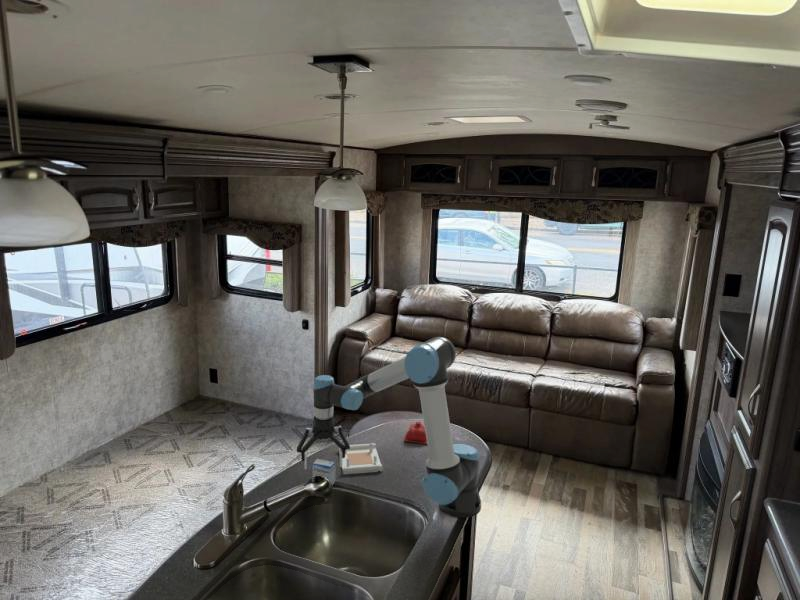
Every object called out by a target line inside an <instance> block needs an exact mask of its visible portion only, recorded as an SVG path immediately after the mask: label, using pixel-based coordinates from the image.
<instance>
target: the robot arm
mask: <svg viewBox="0 0 800 600" xmlns="http://www.w3.org/2000/svg"><path fill="white" fill-rule="evenodd" d="M456 357H457V351H456V347H455V346H454V344H453V343H452V342H451V340H450V339H448V338H446V337H442V336H435V337H432V338H430V339H428V340H426V341H424V342H422V343H419V344H417V345H416V346H414V347H412V349H410V350H409V351H408V352H407V354H406V356H405V357H402V358H400V359H398V360H396V361H393V362H392V363H390V364H387V365H385V366H383V367H381V368H379V369H377V370H374V371H372V372H371V373H369V374H365V375H363V376H361V377H360V378H358V379H356V380H354V381H352V382H350V383H349V384H347V385H345V386H343V385H340V384H336V383H335V379H334V377H333V376H332V375H328V374H322V375H318V376H316V377H315V378H314V380H313V388H312V389H313V392H312V393H313V427H312V428H311V427H310V428H309V427H308V426H306V427H305V430H304V434H303V435H302V437H301V438H300V441H299V442H298V445H297V446H296V452H297V453H301V454H300V455H301V461H302V462H304V470H307V469H308V468H307V467H308V466H307V465H308V463H307V458H308V457H307V456H308V455H307V454H308V453H307V451H308V450H309V449H310V447H311V446H312V445H313V444H314V443H315V442H316V441H317V440H328V439H330V440H331V441H332V442H333V443H334V444H335V445H337V447H338V449H339V448H340V454H339V467H340V468H342V458H345V450H347V449H350V446H349V445H350V443H349V442H348V440H347V438H346V436H345V434H344V433H343V429H342V425H341V424H339V425H337V426H334V413H335V412H334V411H335V410H334V408H335V407H334V406H336V407H339V408H343V409H345V410H351V411H356V410H358V409H359V408H360V407H361V406H362V404H363V401H364V399H366V398H368V397H369V396H371V395H374V394H376V393H379V392H380V391H382V390H385V389H387V388H389V387H392V386H394V385H396V384H399V383H400V382H403V381H405V380H408V379H410V380H411V381H412V383H413V387H414V388H416V389H417V390H418V393H419V398H420V406H421V411H422V412H421V413H422V418H423V419H422V420H423V425H424V426H425V432H426V439H427V443H426V444H427V445H426V446H427V450H428V452H427V453H428V458H427V459H426V461H425V468H426V475H425V477H424V479H423V480H422V487H423V492H424V493H425V495H426V496H427V498H429V499H430V500H431V501H432V502H434V503H436V504H438V505H439V508H440V510H442V512H444V513H445V514H446V515H449V516H450V517H455V518H461V519H462V518H463V519H468V518H472V517H474V516H477V515H478V514H479V513H480V512H481V510H482V498H481V497H480V493H479V490H478V481H479V480H478V479H479V466H480V464H479V463H480V452H479V451H478V449H477V448H476V447H474V446H472V445H468V444H463V443H453V436H452V430H451V429H452V428H451V422H450V421H451V420H450V416H449V415H450V414H449V409H448V408H449V407H448V402H447V395H446V389H445V386H446V385H447V383H448V382H449V376H448V371H447V370H448V369H449V368H450V367H451V366H452V365H453V364H454V363H455V359H456ZM334 432H336V433H338V434H339V436H340V439H341V440H342V442H343V443H342V442H341V441H340V440H339V439H338V438H337V437H336V436H335V434H334ZM311 433H313V435H312V436H311V437H310V439H309V440H308V441H307V442H306V440H307V439H308V437H309V435H310V434H311ZM344 445H345V446H344Z"/></svg>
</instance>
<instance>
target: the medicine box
mask: <svg viewBox="0 0 800 600" xmlns="http://www.w3.org/2000/svg"><path fill="white" fill-rule="evenodd" d="M315 476H323V477H326V478H327V479H329V481H330V482H331V484H332V486H333V485H334V484H335V482H336V461H333V460H331V461H330V460H326V459H320V458H316V459H315V461H314V462H313V463H312V478H313V477H315Z"/></svg>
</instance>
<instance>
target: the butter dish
mask: <svg viewBox="0 0 800 600" xmlns="http://www.w3.org/2000/svg"><path fill="white" fill-rule="evenodd" d="M404 436H405V437H404V441H405V442H408V443H409V442H410V443H418V444H419V443H420V444H427V439H426V432H425V426H424V423H422V422H421V421H416V422H415V423H411V424H410V425H409V428H408V430H407V431H406V433H405V435H404Z"/></svg>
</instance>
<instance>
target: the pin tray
mask: <svg viewBox="0 0 800 600" xmlns="http://www.w3.org/2000/svg"><path fill="white" fill-rule="evenodd" d="M343 445H344V446H345V444H343ZM376 445H377V444H376V443H373V442H371V443H361V444H349V446H350V449H347V450H345V458H342V467H341V469H342V475H354V474H355V475H356V474H365V473H366V474H367V473H377V472H378V471H380V472H383V470H384V468H383V467H384V466H383V464H382V463H381V460H380V457H379V454H378V451H377V447H376ZM338 452H339V453H338V454H339V455H340V448H339V447H338Z"/></svg>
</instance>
